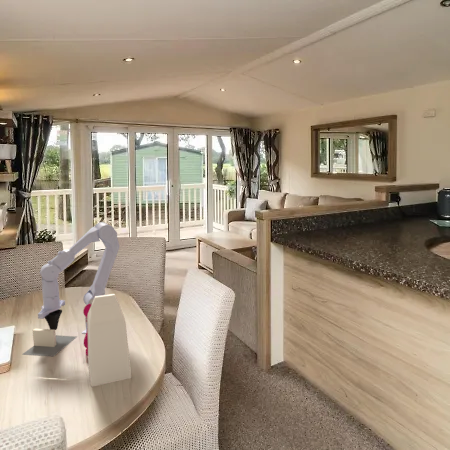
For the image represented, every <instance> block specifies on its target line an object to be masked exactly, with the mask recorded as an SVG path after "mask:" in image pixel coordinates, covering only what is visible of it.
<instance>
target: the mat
mask: <svg viewBox="0 0 450 450" xmlns="http://www.w3.org/2000/svg"><path fill="white" fill-rule="evenodd" d="M76 338H77V336H75V335H73V336H72V335H58V334H57V335H56V346H54V347H47V346H34V345H33V346H31V347H30V348H29V349H27V350H26V351H24V352H22V355H26V356H39V357H55V356H56V355H57V354H58V353H60V352H61V351H62V350H63V349H64V348H66V347H67V346H68V345H69V344H71V343H72V342H73V341H74V340H75V339H76Z"/></svg>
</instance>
